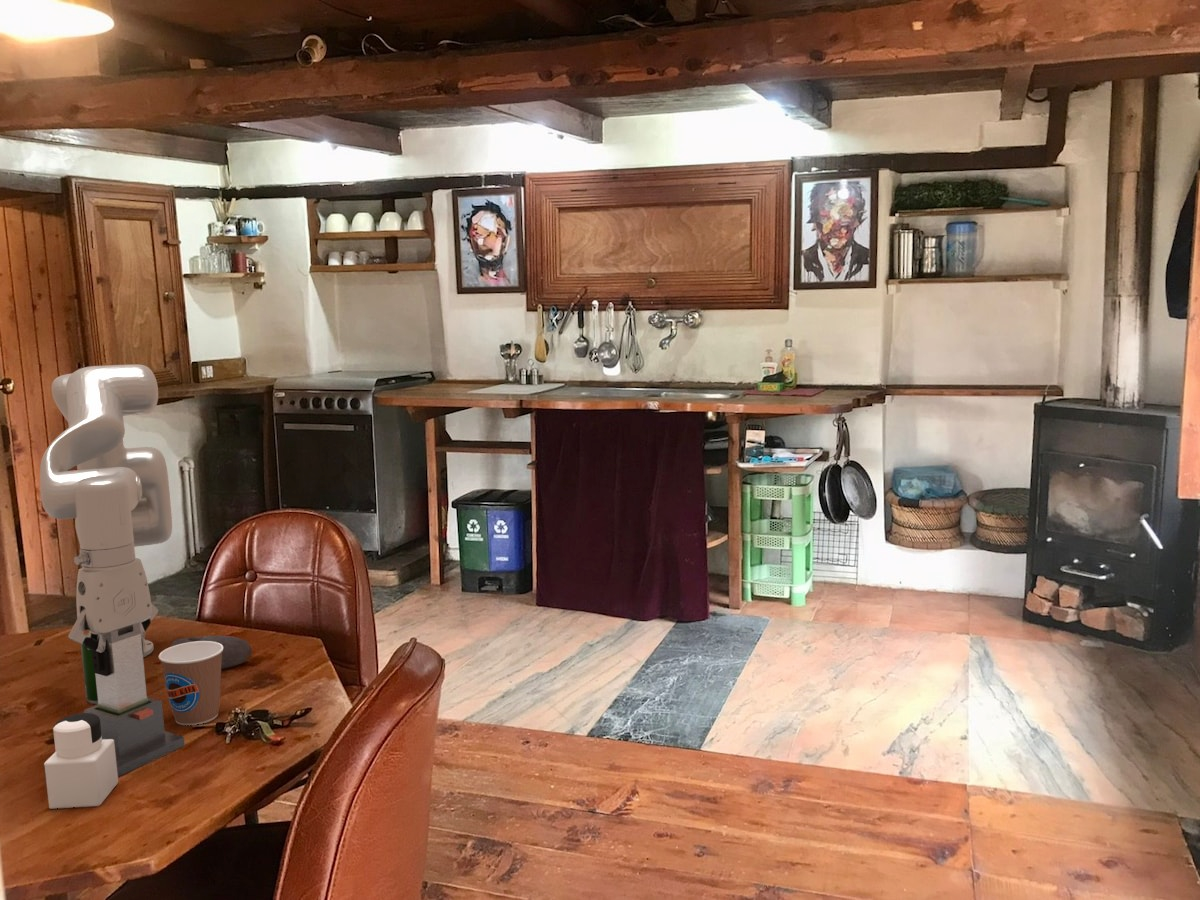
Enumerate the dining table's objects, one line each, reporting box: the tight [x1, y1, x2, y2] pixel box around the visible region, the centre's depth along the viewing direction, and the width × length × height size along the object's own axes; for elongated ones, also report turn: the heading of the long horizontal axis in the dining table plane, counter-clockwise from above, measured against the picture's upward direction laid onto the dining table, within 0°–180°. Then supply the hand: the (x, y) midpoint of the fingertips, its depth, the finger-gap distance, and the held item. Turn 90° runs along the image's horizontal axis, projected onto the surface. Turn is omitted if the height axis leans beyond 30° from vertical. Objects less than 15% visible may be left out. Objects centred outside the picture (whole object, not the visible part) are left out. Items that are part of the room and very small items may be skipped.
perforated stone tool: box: [170, 635, 252, 670], centre depth 196 cm, size 15×5×7 cm, turn 112°
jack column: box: [95, 623, 148, 716], centre depth 159 cm, size 5×5×15 cm
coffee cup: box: [158, 641, 223, 727], centre depth 173 cm, size 10×10×12 cm
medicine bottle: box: [43, 712, 119, 810], centre depth 146 cm, size 7×7×12 cm
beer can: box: [80, 632, 98, 705], centre depth 182 cm, size 5×5×12 cm
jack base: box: [83, 696, 186, 778], centre depth 160 cm, size 12×12×8 cm
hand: (119, 667), depth 159 cm, fingers closed on jack column, 5 cm apart
